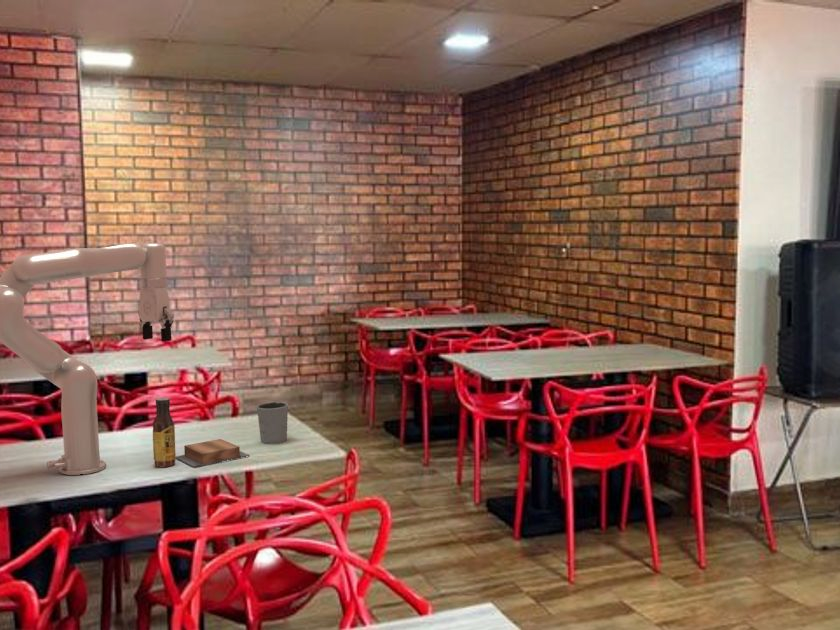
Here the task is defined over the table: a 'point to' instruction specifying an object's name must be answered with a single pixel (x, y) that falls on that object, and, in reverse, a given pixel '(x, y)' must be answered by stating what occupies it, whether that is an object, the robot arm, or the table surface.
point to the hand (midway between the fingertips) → (157, 340)
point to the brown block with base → (210, 453)
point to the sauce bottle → (163, 435)
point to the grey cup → (273, 422)
